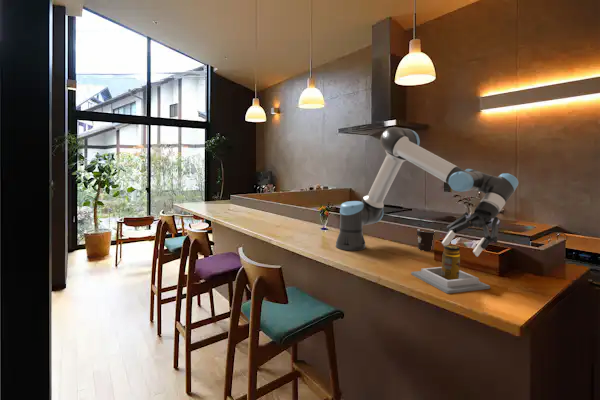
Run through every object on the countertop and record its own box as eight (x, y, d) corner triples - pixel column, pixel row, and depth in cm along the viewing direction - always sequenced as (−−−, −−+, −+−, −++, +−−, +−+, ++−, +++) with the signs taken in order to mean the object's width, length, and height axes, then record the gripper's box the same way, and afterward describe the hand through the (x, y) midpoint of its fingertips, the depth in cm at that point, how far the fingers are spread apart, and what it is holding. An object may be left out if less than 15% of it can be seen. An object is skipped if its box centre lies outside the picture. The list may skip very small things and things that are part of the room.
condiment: (464, 279, 122) (466, 247, 121) (447, 282, 118) (449, 250, 117) (448, 273, 128) (450, 243, 127) (431, 276, 125) (433, 245, 124)
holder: (411, 274, 130) (411, 266, 130) (449, 270, 135) (449, 263, 135) (447, 293, 111) (447, 284, 111) (489, 288, 116) (490, 280, 116)
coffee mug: (435, 252, 164) (436, 232, 163) (417, 251, 166) (418, 231, 164) (431, 246, 175) (432, 228, 174) (414, 245, 177) (415, 227, 176)
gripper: (526, 219, 117) (494, 265, 113) (465, 209, 140) (437, 247, 135) (518, 204, 114) (485, 251, 110) (457, 197, 137) (428, 235, 132)
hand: (458, 249), depth 123 cm, fingers open, 13 cm apart
